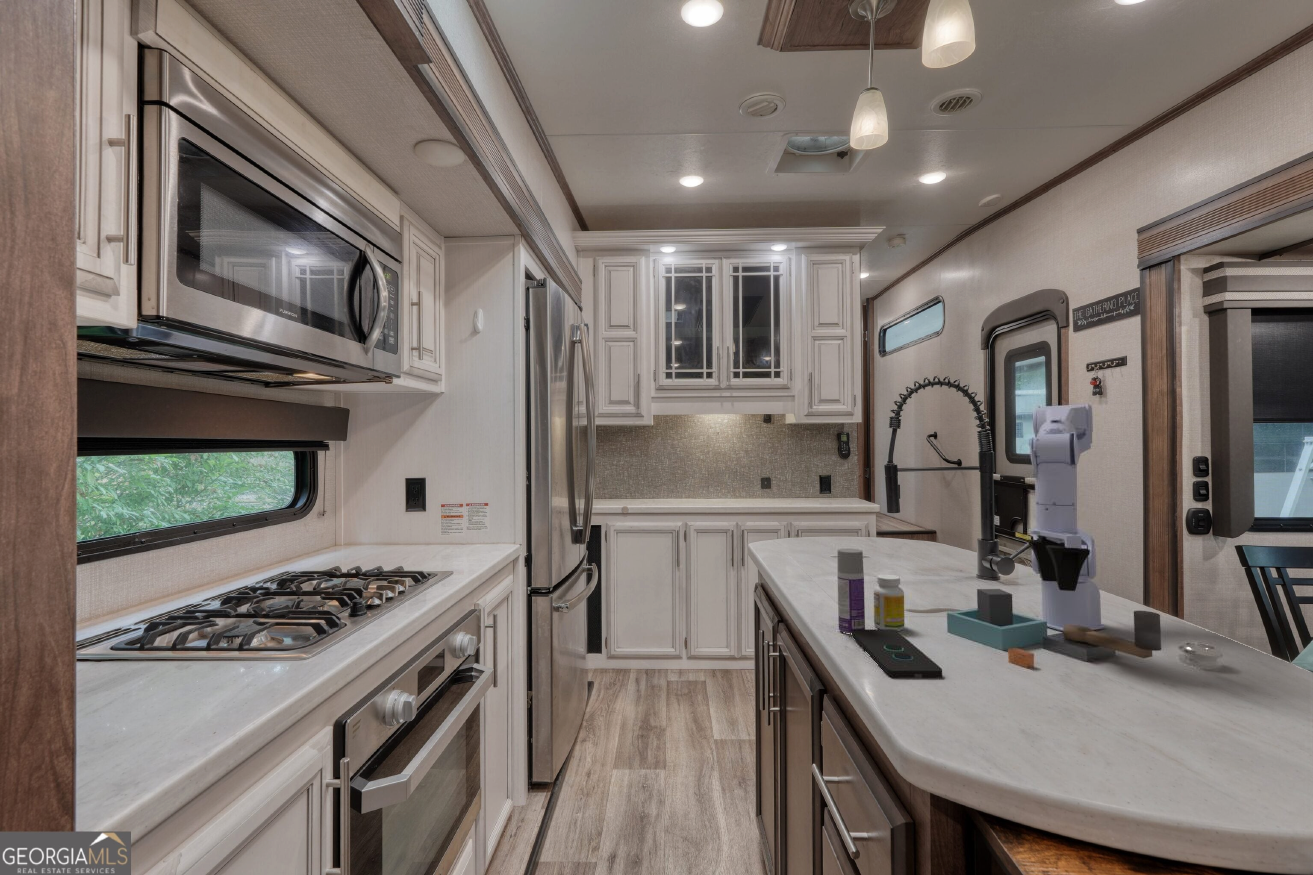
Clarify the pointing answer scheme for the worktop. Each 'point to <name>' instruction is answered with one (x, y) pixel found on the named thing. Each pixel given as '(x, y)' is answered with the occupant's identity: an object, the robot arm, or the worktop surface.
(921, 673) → the black flat panel
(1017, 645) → the tray
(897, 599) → the supplement bottle
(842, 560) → the container
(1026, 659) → the wooden and grey pieces
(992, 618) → the block
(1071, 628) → the crank lever
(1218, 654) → the metal wheel
